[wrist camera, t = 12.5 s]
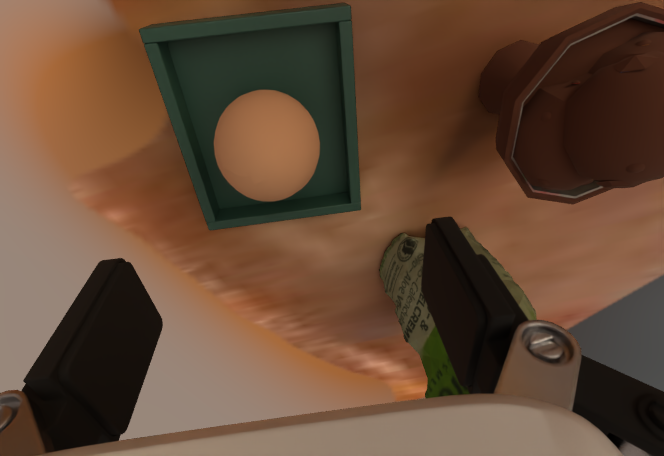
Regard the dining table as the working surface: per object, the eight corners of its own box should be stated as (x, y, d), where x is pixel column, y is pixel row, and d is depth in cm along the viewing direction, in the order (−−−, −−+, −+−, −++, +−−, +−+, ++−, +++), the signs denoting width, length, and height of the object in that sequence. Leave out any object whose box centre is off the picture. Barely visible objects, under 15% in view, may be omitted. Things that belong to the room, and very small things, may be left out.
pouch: (403, 313, 42) (518, 634, 21) (348, 250, 36) (437, 616, 15) (492, 267, 39) (721, 582, 19) (450, 189, 33) (724, 536, 13)
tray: (151, 24, 23) (137, 29, 21) (344, 2, 24) (351, 5, 22) (213, 214, 32) (208, 231, 30) (356, 195, 32) (361, 210, 30)
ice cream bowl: (440, 156, 31) (544, 274, 19) (452, 4, 24) (623, 30, 12) (561, 139, 31) (740, 243, 19) (603, -16, 25) (917, -9, 13)
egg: (303, 174, 30) (312, 235, 22) (218, 158, 28) (197, 218, 21) (323, 90, 26) (342, 130, 19) (228, 67, 25) (207, 100, 17)
